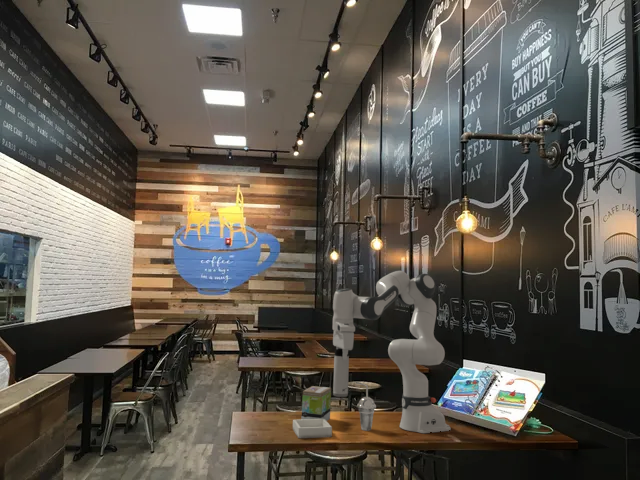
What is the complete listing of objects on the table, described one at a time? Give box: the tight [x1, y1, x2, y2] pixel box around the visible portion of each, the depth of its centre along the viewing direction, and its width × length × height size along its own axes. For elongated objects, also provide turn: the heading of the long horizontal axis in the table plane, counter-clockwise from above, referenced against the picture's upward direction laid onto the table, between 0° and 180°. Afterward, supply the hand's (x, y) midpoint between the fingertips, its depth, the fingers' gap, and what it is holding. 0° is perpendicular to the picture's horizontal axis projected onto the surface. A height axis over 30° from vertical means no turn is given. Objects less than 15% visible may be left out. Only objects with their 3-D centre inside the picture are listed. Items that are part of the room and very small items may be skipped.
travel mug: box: [332, 348, 350, 398], centre depth 217 cm, size 6×7×20 cm
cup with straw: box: [355, 381, 377, 431], centre depth 224 cm, size 8×9×20 cm
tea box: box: [300, 385, 332, 422], centre depth 236 cm, size 15×10×15 cm, turn 164°
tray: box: [292, 418, 333, 439], centre depth 215 cm, size 14×14×4 cm
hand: (342, 358), depth 218 cm, fingers closed on travel mug, 6 cm apart
